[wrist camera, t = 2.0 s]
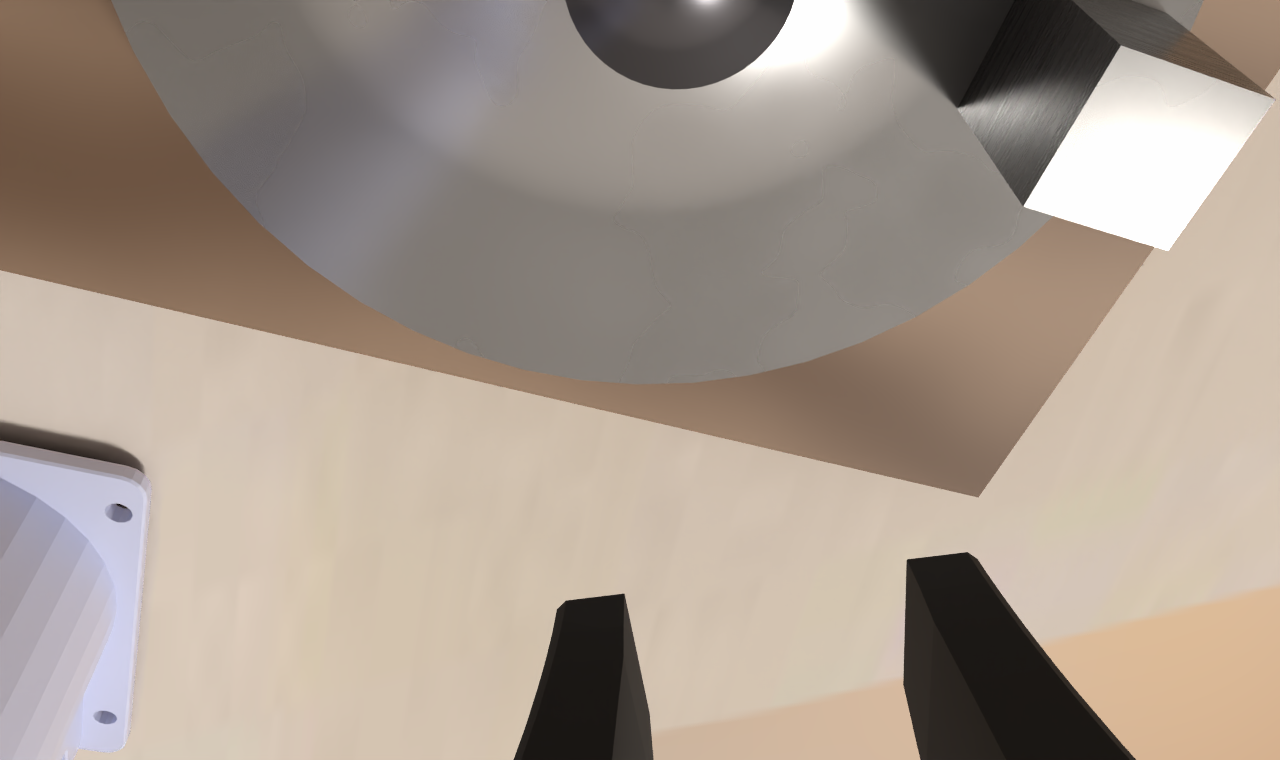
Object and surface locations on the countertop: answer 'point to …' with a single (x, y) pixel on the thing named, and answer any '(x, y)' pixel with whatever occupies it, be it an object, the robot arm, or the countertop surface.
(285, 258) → the base plate
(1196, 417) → the countertop surface
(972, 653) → the robot arm
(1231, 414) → the countertop surface
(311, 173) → the silver round platter
